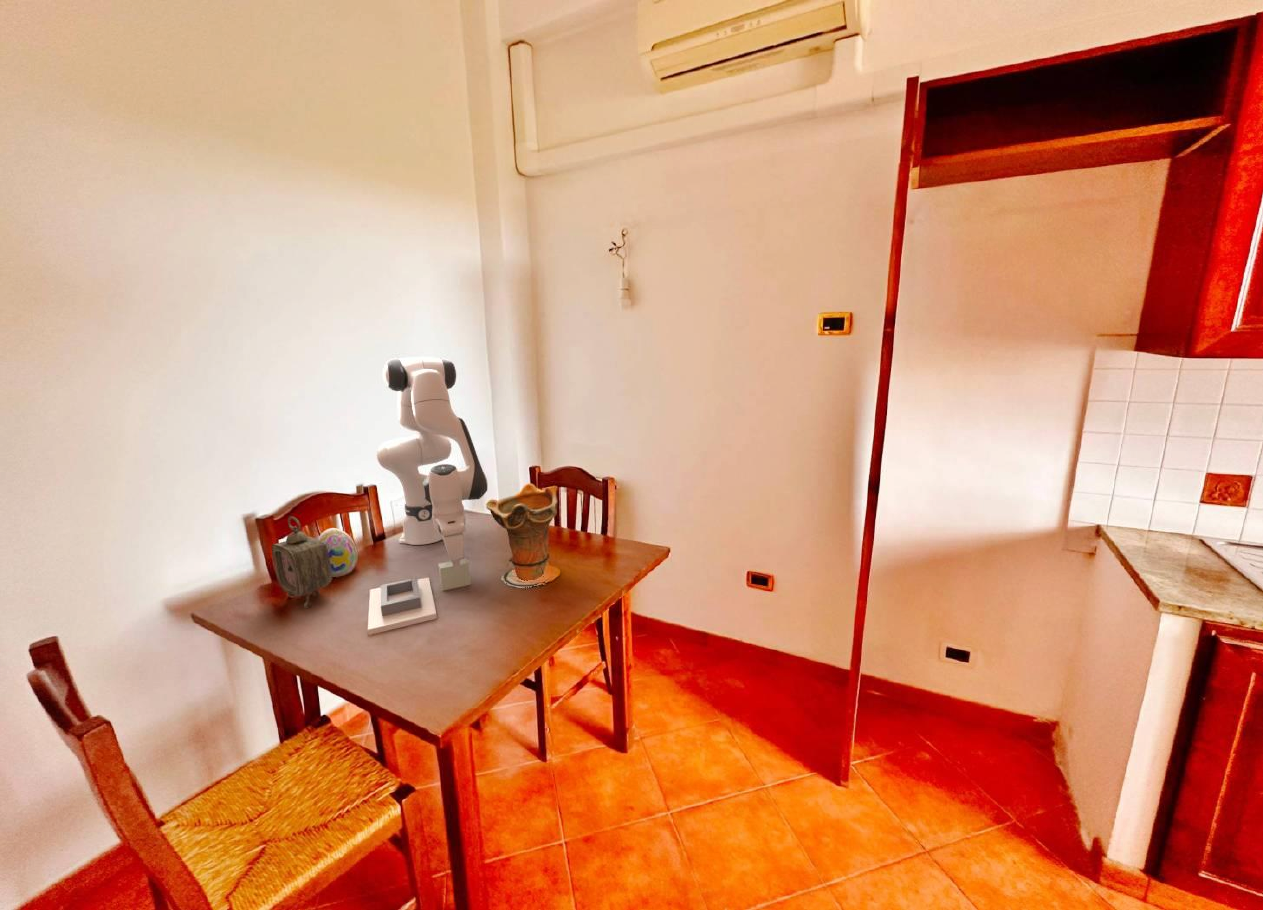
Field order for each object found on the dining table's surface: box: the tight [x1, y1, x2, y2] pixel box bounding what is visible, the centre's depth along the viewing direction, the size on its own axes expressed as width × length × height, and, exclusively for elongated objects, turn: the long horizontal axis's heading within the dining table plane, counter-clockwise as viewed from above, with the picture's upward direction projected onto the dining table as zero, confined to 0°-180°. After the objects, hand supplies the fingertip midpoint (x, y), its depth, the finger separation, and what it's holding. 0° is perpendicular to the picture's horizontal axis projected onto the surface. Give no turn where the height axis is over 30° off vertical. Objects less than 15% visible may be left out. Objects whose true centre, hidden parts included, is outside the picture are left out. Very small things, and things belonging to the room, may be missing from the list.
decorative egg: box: [317, 527, 358, 578], centre depth 159 cm, size 12×12×15 cm
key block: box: [438, 557, 472, 592], centre depth 149 cm, size 4×8×7 cm, turn 116°
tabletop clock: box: [271, 516, 333, 608], centre depth 141 cm, size 14×9×25 cm, turn 56°
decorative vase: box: [485, 482, 559, 589], centre depth 151 cm, size 21×23×28 cm
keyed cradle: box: [367, 577, 438, 636], centre depth 138 cm, size 24×16×4 cm, turn 26°
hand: (454, 564), depth 148 cm, fingers open, 8 cm apart
